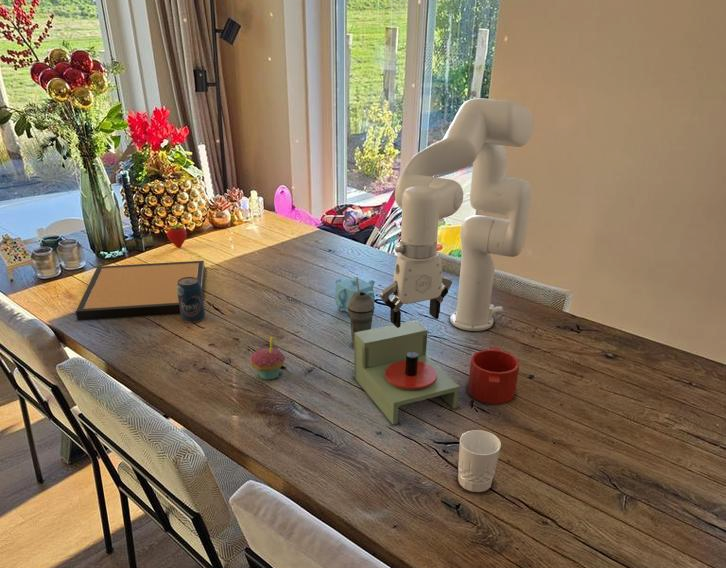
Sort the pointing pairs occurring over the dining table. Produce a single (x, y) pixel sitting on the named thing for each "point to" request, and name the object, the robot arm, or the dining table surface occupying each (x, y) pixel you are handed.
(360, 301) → the beverage cup
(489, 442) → the white cup
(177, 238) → the strawberry
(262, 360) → the cupcake
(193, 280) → the soda can
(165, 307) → the cork board
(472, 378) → the pot
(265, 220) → the dining table surface
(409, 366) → the lid
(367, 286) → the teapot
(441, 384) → the green step stand
